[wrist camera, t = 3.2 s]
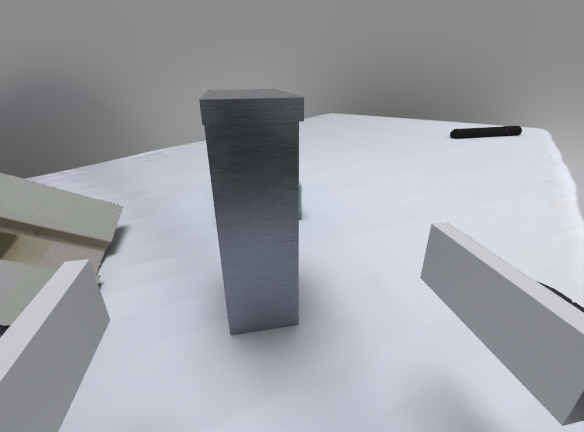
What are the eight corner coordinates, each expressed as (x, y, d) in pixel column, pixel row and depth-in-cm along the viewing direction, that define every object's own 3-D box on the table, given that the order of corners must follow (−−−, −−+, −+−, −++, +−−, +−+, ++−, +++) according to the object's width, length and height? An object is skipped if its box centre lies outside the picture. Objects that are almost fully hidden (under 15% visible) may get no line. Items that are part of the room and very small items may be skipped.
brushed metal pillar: (230, 347, 18) (199, 99, 12) (228, 271, 26) (207, 90, 20) (301, 335, 19) (303, 97, 13) (280, 265, 26) (275, 89, 20)
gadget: (456, 130, 75) (524, 126, 78) (449, 128, 77) (516, 125, 81) (454, 140, 76) (521, 136, 79) (447, 138, 78) (513, 134, 82)
